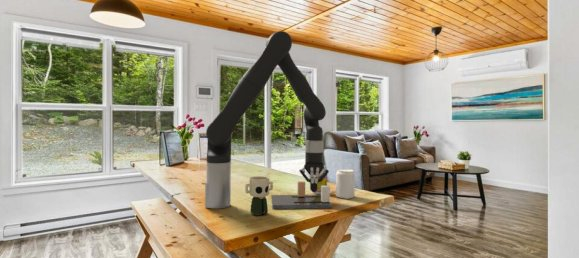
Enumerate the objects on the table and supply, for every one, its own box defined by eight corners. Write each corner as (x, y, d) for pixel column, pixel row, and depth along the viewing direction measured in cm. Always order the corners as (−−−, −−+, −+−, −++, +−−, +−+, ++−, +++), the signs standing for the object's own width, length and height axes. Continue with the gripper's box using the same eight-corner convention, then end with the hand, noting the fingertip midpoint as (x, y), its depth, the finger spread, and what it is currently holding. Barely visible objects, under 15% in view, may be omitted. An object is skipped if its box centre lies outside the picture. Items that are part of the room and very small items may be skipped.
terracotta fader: (298, 196, 127) (298, 182, 127) (297, 195, 130) (297, 181, 129) (305, 196, 127) (305, 182, 127) (304, 195, 130) (304, 181, 130)
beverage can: (357, 196, 137) (357, 170, 136) (350, 200, 130) (350, 172, 129) (340, 193, 141) (340, 168, 141) (333, 197, 134) (333, 170, 134)
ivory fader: (322, 202, 119) (322, 186, 119) (320, 200, 121) (321, 185, 121) (329, 202, 119) (329, 186, 119) (328, 200, 122) (328, 185, 121)
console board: (272, 209, 115) (272, 204, 115) (271, 198, 131) (271, 194, 131) (332, 208, 117) (332, 204, 117) (323, 197, 133) (323, 194, 133)
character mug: (249, 218, 103) (249, 180, 103) (241, 213, 109) (241, 177, 109) (277, 214, 109) (277, 178, 109) (267, 209, 115) (268, 175, 115)
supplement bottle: (326, 195, 138) (326, 167, 138) (311, 194, 140) (312, 166, 139) (327, 191, 145) (327, 165, 145) (313, 190, 146) (314, 164, 146)
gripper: (299, 152, 124) (299, 193, 125) (331, 152, 125) (330, 193, 126) (297, 150, 132) (297, 189, 132) (327, 150, 133) (327, 189, 133)
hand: (313, 191), depth 129 cm, fingers closed
